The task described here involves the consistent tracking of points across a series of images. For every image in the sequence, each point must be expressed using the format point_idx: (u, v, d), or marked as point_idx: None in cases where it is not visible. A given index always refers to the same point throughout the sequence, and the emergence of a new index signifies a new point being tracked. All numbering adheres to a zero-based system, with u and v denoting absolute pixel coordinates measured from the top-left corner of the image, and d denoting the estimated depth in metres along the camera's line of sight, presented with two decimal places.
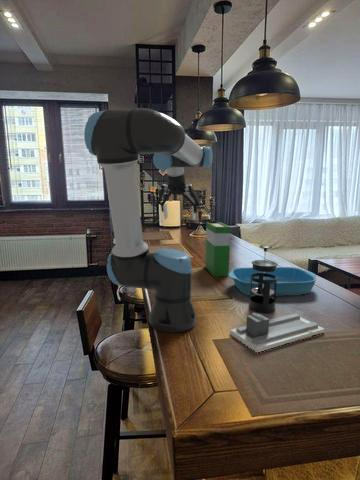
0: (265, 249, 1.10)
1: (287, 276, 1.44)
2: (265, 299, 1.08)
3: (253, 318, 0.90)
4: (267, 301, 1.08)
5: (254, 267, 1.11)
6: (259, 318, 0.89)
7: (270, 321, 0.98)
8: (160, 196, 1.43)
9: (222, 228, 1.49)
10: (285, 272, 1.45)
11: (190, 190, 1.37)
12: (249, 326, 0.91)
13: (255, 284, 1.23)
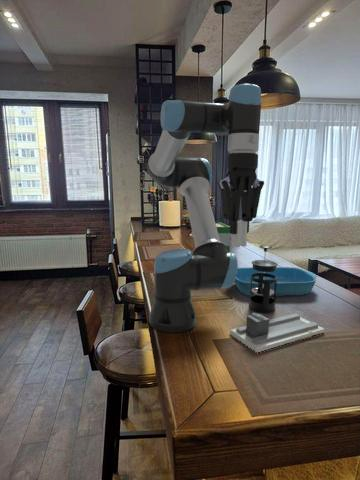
0: (265, 249, 1.10)
1: (287, 276, 1.44)
2: (265, 299, 1.08)
3: (253, 318, 0.90)
4: (267, 301, 1.08)
5: (254, 267, 1.11)
6: (259, 318, 0.89)
7: (270, 321, 0.98)
8: None
9: (222, 228, 1.49)
10: (285, 272, 1.44)
11: None
12: (249, 326, 0.91)
13: (254, 284, 1.23)
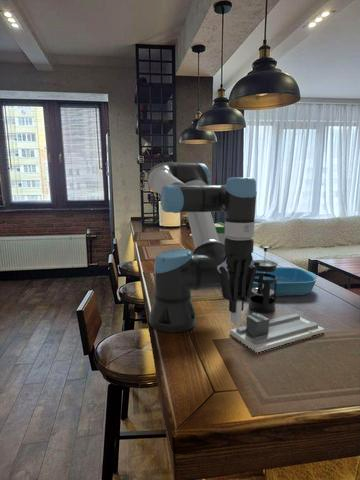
0: (265, 249, 1.10)
1: (288, 276, 1.44)
2: (265, 299, 1.08)
3: (253, 318, 0.90)
4: (267, 301, 1.08)
5: None
6: (259, 318, 0.89)
7: (270, 321, 0.98)
8: None
9: (222, 228, 1.49)
10: (286, 273, 1.44)
11: None
12: (249, 326, 0.91)
13: (254, 284, 1.23)
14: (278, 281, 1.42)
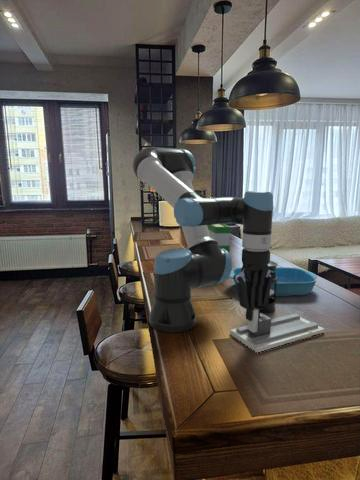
0: None
1: (288, 277, 1.44)
2: None
3: None
4: (267, 301, 1.08)
5: None
6: (261, 317, 0.89)
7: None
8: None
9: (222, 228, 1.49)
10: (287, 273, 1.44)
11: None
12: None
13: None
14: (278, 281, 1.42)
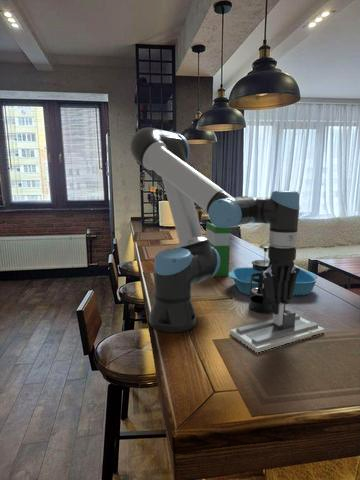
0: (265, 249, 1.10)
1: None
2: (265, 299, 1.08)
3: None
4: (267, 301, 1.08)
5: (254, 267, 1.11)
6: (286, 312, 0.94)
7: (270, 321, 0.98)
8: None
9: (222, 228, 1.49)
10: None
11: None
12: None
13: (253, 284, 1.24)
14: None
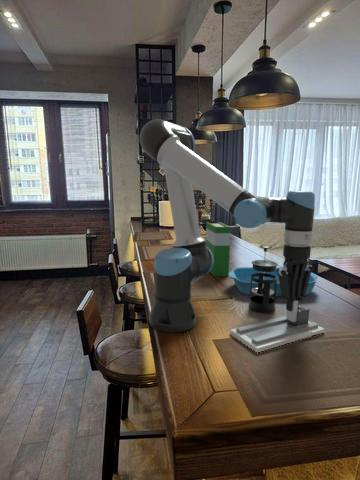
0: (265, 249, 1.10)
1: None
2: (265, 299, 1.08)
3: None
4: (267, 301, 1.08)
5: (254, 267, 1.11)
6: (300, 308, 0.96)
7: (270, 321, 0.98)
8: None
9: (222, 228, 1.49)
10: None
11: None
12: None
13: (253, 284, 1.24)
14: None
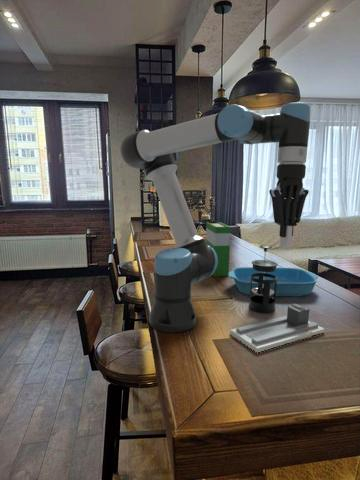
0: (265, 249, 1.10)
1: (290, 277, 1.43)
2: (265, 299, 1.08)
3: (294, 308, 0.97)
4: (267, 301, 1.08)
5: (254, 267, 1.11)
6: (300, 308, 0.96)
7: (270, 321, 0.98)
8: None
9: (222, 228, 1.49)
10: (288, 273, 1.43)
11: None
12: (290, 316, 0.98)
13: (252, 283, 1.24)
14: (280, 281, 1.42)
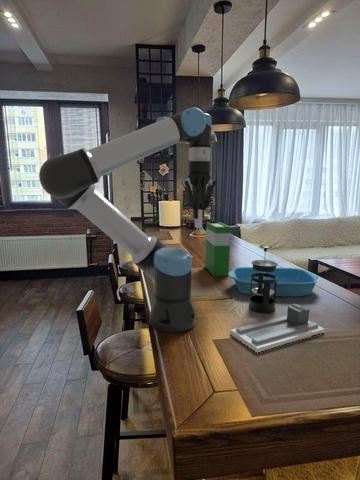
0: (265, 249, 1.10)
1: (291, 277, 1.43)
2: (265, 299, 1.08)
3: (294, 308, 0.97)
4: (267, 301, 1.08)
5: (254, 267, 1.11)
6: (300, 308, 0.96)
7: (270, 321, 0.98)
8: None
9: (222, 228, 1.49)
10: (289, 273, 1.43)
11: None
12: (290, 316, 0.98)
13: None
14: (280, 282, 1.42)
